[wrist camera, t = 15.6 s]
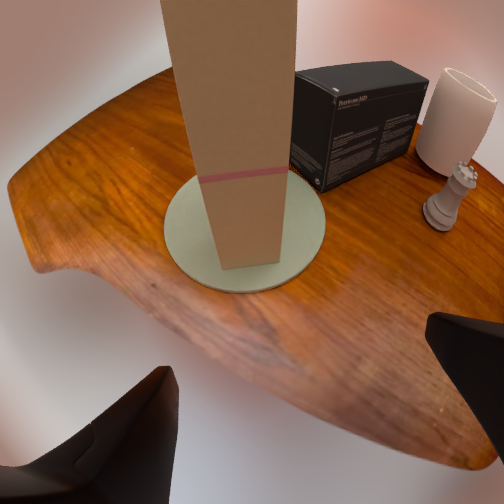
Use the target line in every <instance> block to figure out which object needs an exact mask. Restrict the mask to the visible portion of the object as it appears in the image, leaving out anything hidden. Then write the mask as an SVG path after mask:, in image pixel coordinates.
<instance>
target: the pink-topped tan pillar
mask: <svg viewBox="0 0 504 504" xmlns="http://www.w3.org/2000/svg"><path fill="white" fill-rule="evenodd" d="M160 2H161V8H162V14H163V20H164V25H165V31H166V36H167V41H168V46H169V52H170V56H171V62H172V67H173V72H174V76H175V81H176V86H177V91H178V95H179V100H180V104H181V109H182V113H183V118H184V122H185V127H186V131H187V135H188V139H189V144H190V148H191V152H192V156H193V160H194V165H195V169H196V173H197V178H198V182H199V185H200V189H201V193H202V197H203V200H204V204H205V208H206V212H207V216H208V220H209V223H210V227H211V231H212V235H213V238H214V242H215V246H216V249H217V253H218V257H219V260H220V264H221V267H222V270H228V269H235V268H242V267H249V266H256V265H264V264H271V263H278V262H280V253H281V244H282V234H283V223H284V213H285V202H286V191H287V179H288V171H289V154H290V141H291V127H292V111H293V95H294V77H295V56H296V55H295V54H296V31H297V0H160Z"/></svg>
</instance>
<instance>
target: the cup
mask: <svg viewBox="0 0 504 504" xmlns="http://www.w3.org/2000/svg"><path fill="white" fill-rule="evenodd" d="M496 105H497V100H496V98H495V97H494V96H493V94H492V93H491V92H490V91H488V90H487V89H486V88H485V87H484V86H482V85H481V84H480V83H479V82H477V81H475V80H474V79H472V78H471V77H469V76H467V75H466V74H464V73H461V72H460V71H457V70H455V69H452V68H444V70H443V72H442V74H441V77H440V79H439V81H438V83H437V85H436V88H435V91H434V93H433V96H432V98H431V101H430V104H429V107H428V109H427V112H426V115H425V118H424V121H423V124H422V127H421V130H420V133H419V136H418V139H417V143H416V147H415V148H416V151H417V153H418V155H419V157H420V158H421V159H422V160H423V161H424V162H425V163H426V164H427V165H428V166H429V167H430V168H432V169H433V170H435V171H436V172H438V173H440V174H442V175H444V176H447V177H450V176H452V170H451V169H452V166H454V165H457V164H458V162H460V161H461V162H462V163H463V161H464V162H466V163H467V164H468V162H469V161H470V159H471V158H472V156H473V155H474V153H475V151H476V150H477V148H478V146H479V144H480V142H481V141H482V139H483V137H484V135H485V133H486V131H487V128H488V126H489V124H490V122H491V120H492V117H493V114H494V111H495V108H496Z"/></svg>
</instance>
